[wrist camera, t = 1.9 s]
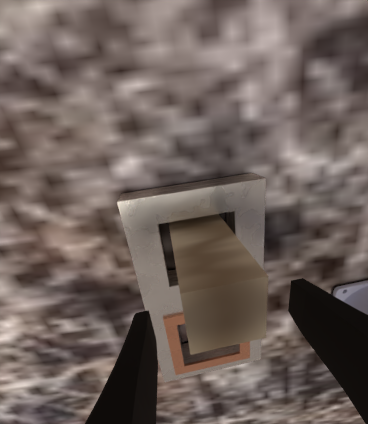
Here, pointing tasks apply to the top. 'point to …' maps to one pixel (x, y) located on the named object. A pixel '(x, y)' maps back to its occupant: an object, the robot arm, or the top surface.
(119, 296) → the top surface
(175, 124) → the top surface
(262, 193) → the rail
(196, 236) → the peg
